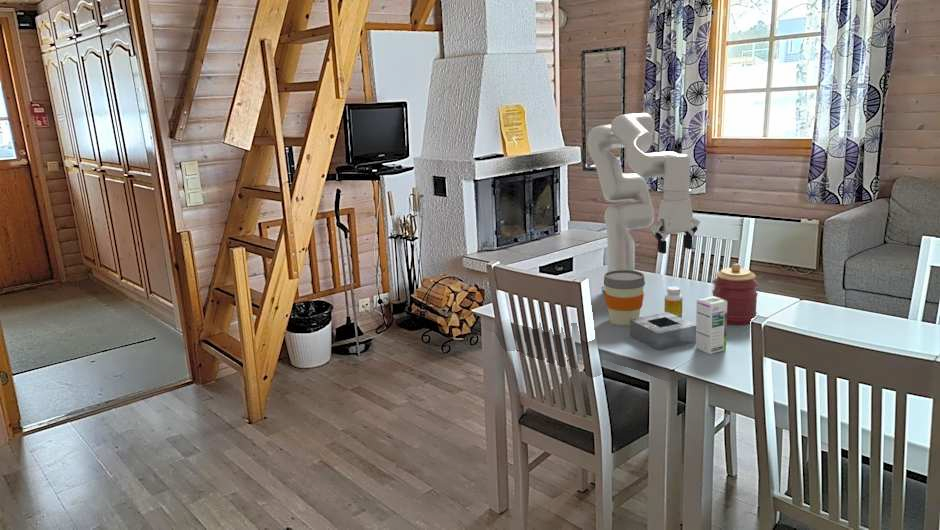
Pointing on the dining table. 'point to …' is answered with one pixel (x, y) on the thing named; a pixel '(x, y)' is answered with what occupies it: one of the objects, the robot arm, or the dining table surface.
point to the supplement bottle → (673, 301)
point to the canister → (737, 293)
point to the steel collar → (663, 330)
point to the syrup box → (711, 324)
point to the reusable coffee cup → (623, 295)
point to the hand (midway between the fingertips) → (675, 250)
